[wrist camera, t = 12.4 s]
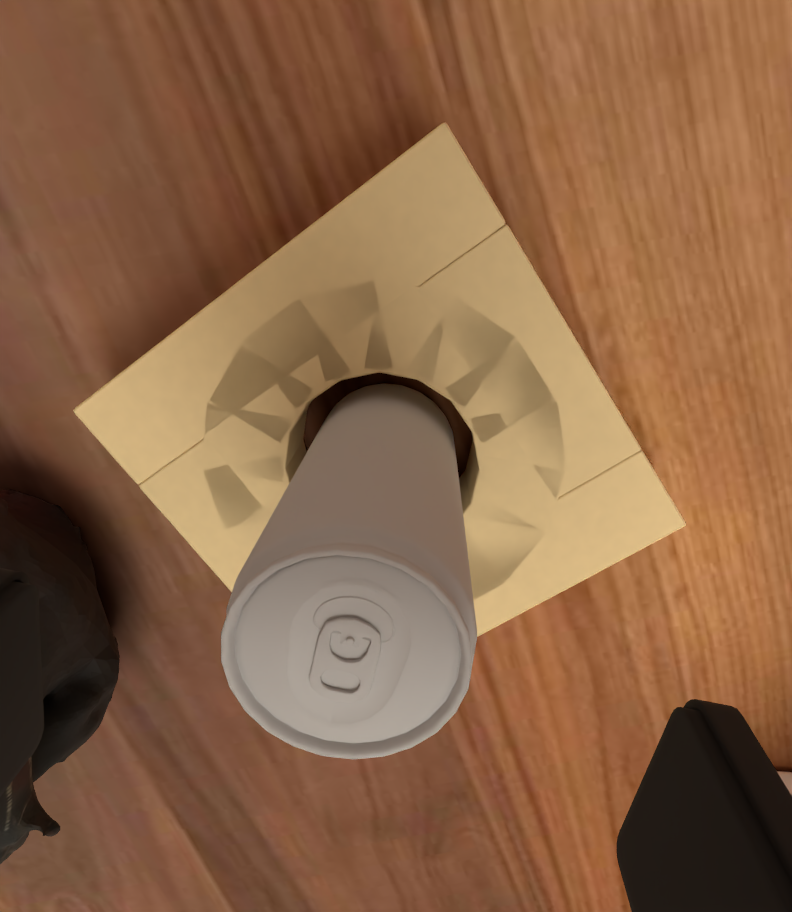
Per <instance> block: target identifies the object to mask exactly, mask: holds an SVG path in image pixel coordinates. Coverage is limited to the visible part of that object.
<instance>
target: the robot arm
mask: <svg viewBox="0 0 792 912" xmlns="http://www.w3.org/2000/svg"><path fill="white" fill-rule="evenodd" d="M43 730H44V710H43V686H42V663H41V639H40V616H39V594H38V589H37V588H36V586H34V585H32V584H30V583H29V578H28V577H27V575H26V574H25V573H23V572H19V571H14V570H9V569H3V568H0V797H1V795H2V794H3V793H4V791H5V790H6V789H7V787H8V786H9V785H10V783H11V782H12V781H13V780H14V778H15V777H16V776H17V774H18V773H19V772H20V770H21V769H22V768H23V766H24V765H25V764H26V762H27V761H28V760H29V759H30V757H31V756H32V755H33V753H34V752H35V750H36V749H37V747H38V745H39V743H40V740H41V737H42V734H43ZM617 859H618V864H619V867H620V871H621V874H622V878H623V882H624V885H625V889H626V892H627V896H628V899H629V903H630V907H631V910H632V912H792V795H791V794H790V792H789V790H788V789H787V787H786V786H785V784H784V782H783V781H782V779H781V777H780V776H779V774H778V773H777V771H776V769H775V768H774V766H773V764H772V763H771V761H770V760H769V758H768V756H767V755H766V753H765V751H764V750H763V748H762V747H761V745H760V743H759V742H758V740H757V738H756V737H755V735H754V734H753V732H752V730H751V729H750V727H749V725H748V724H747V722H746V721H745V719H744V717H743V716H742V714H741V713H740V712H739V711H738V709H736V708H734V707H732V706H728V705H723V704H717V703H712V702H707V701H702V700H696V699H694V700H690V701H688V702H687V703H686V705H685V706H684V708H682V707H677V708H676V709H675V710H674V711H673V713H672V714H671V716H670V719H669V721H668V723H667V725H666V728H665V730H664V732H663V735H662V737H661V739H660V741H659V744H658V746H657V748H656V750H655V753H654V755H653V757H652V759H651V762H650V764H649V766H648V768H647V771H646V773H645V775H644V777H643V780H642V782H641V784H640V787H639V789H638V791H637V793H636V796H635V798H634V800H633V802H632V805H631V807H630V809H629V811H628V814H627V816H626V818H625V820H624V823H623V825H622V827H621V829H620V832H619V835H618V839H617Z"/></svg>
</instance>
